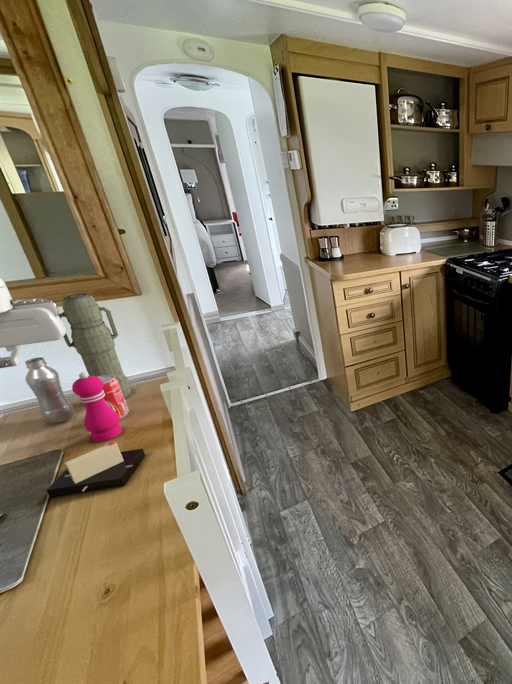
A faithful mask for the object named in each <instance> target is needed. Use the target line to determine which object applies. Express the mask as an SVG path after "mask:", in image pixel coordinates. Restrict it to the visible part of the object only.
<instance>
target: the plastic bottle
mask: <svg viewBox="0 0 512 684" xmlns="http://www.w3.org/2000/svg"><path fill="white" fill-rule="evenodd" d="M24 363H25V366H26V369H28V371H27V373H26V375H25V383H26V384H27V385H28V387H29V388H30V390H31V391H32V392H33V394H34V395H35V397H36V399H37V401H38V404H39V408H40V413H41V419H42V420H43V421H44V422H46V423H47V424H59V423H63V422H65V421H68V420H70V419H71V418H72V417H73V416H74V414H75V409H74V406H73V405H72V404H71V403H70V402H69V400H68V399H67V397H66V395H65V393H64V390H63V388H62V385H61V380H60V376H59V373H58V371H57V370H56V369H55V368H53V367H51V366H48V365H47V364H48V363H47V361H46V359H45V358H44V357H34V358H30V359H26V360H25V361H24Z"/></svg>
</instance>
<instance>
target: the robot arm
mask: <svg viewBox="0 0 512 684" xmlns="http://www.w3.org/2000/svg"><path fill="white" fill-rule="evenodd" d="M58 314H60V312H59V310H58V306H57V304H56V303H55V302H54V301H52V300H50V299H47V298H44V297H34V298H24V299H21V298H19V299H13V297H12V295H11V293H10V290H9V288H8V286H7V284H6V283H5V281H4V280H3V279H2V278H1V277H0V349H2V348H3V349H4V348H5V349H6V352H8V353H9V352H10V355H9V356H5V357H1V356H0V369H4V368H12V367H17V366H19V365H20V364H21V362H20V360H19V357H18V355H19V353H20V351H21V348H22V346H24V345H25V346H26V345H32V344H39V343H45V342H46V343H47V342H54V341H60V340H62V338H64V337H63V336H64V335H65V334H67V328H66V325H65V324H64V322H63V320H62V318H61V319H60V317H59V316H58Z"/></svg>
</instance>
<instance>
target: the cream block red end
mask: <svg viewBox="0 0 512 684" xmlns="http://www.w3.org/2000/svg"><path fill="white" fill-rule="evenodd" d="M120 452H121V450H120V448H119V445H118V443H117V442H115V441H114V440H112V441H110V442H108V443H107V444H105V445H103V446H100V447H98V448H95V449H93V450H91V451H89V452H86V453H84V454H82V455H80V456H77V457H74V458H72V459H70V460H67V461H65V462H64V465H65V467H66V469H68V471H69V473H70V475H71V478H72V480H73V482H74V483H75V484H76V483H78V482H80V481H82V480H85V479H87V478H89V477H91V476H93V475H95V474H97V473H100V472H102V471H104V470H106V469H108V468H110V467H112V466H114V465H117V464H119V463H121V462H123V461H124V460H123V458H122V455H121V453H120Z"/></svg>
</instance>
